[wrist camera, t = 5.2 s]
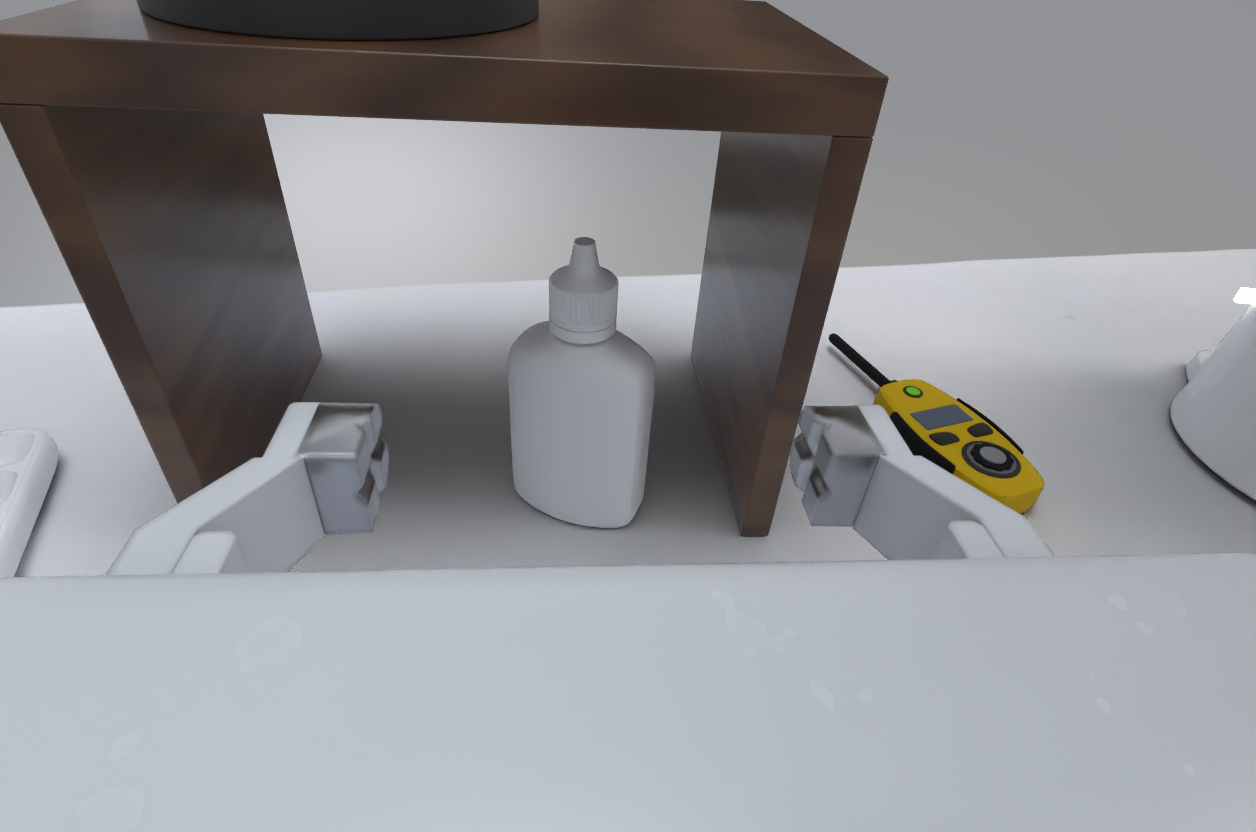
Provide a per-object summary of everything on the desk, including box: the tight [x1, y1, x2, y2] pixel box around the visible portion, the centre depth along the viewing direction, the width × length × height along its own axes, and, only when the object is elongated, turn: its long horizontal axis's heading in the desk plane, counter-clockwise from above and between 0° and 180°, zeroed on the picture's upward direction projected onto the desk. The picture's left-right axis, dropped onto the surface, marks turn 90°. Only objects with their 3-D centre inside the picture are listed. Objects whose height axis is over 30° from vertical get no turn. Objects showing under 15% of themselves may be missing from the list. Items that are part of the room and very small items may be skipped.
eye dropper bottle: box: [508, 237, 655, 528], centre depth 27 cm, size 4×6×12 cm
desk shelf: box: [0, 0, 888, 536], centre depth 29 cm, size 23×14×18 cm, turn 95°
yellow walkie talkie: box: [829, 334, 1044, 513], centre depth 36 cm, size 5×2×15 cm
